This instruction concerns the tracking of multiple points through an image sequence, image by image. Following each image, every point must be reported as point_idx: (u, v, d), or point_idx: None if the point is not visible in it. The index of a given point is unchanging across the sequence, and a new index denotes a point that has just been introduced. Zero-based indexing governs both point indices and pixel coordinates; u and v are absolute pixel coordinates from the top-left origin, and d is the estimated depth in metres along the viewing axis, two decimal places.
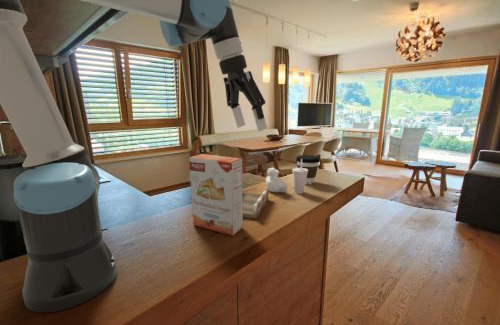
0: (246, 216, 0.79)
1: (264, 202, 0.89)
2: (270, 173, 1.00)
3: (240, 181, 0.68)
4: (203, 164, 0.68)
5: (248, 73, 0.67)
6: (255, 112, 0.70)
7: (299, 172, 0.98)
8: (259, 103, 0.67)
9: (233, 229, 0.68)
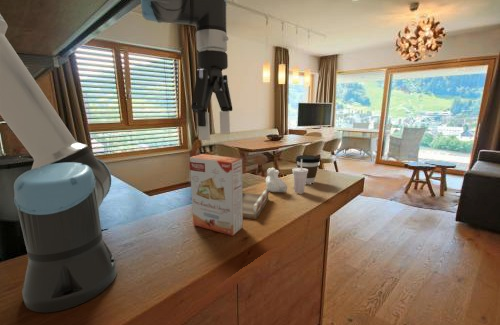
0: (246, 216, 0.79)
1: (264, 202, 0.89)
2: (270, 173, 1.00)
3: (240, 181, 0.68)
4: (203, 164, 0.68)
5: (202, 71, 0.58)
6: None
7: (299, 172, 0.98)
8: (193, 106, 0.57)
9: (233, 229, 0.68)
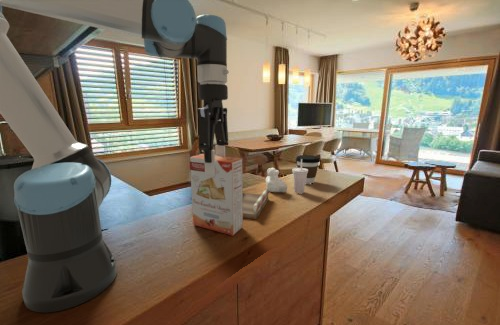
0: (246, 216, 0.79)
1: (264, 202, 0.89)
2: (270, 173, 1.00)
3: (240, 181, 0.69)
4: (203, 164, 0.68)
5: (203, 111, 0.60)
6: None
7: (299, 172, 0.98)
8: (200, 146, 0.62)
9: (233, 229, 0.68)
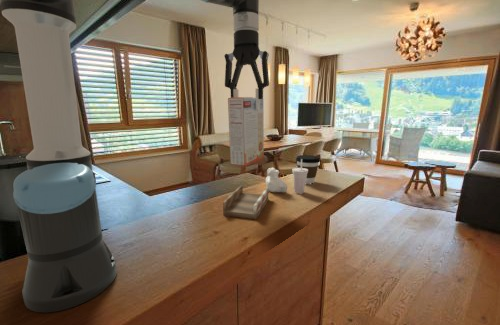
0: (246, 216, 0.79)
1: (264, 202, 0.89)
2: (270, 173, 1.00)
3: (240, 119, 0.74)
4: None
5: None
6: None
7: (299, 172, 0.98)
8: None
9: (231, 159, 0.79)
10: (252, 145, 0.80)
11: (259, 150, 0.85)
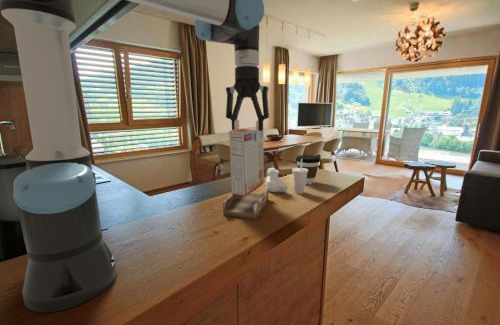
0: (246, 216, 0.79)
1: (264, 202, 0.89)
2: (270, 173, 1.00)
3: (241, 151, 0.77)
4: None
5: None
6: None
7: (299, 172, 0.98)
8: None
9: (232, 188, 0.82)
10: (252, 174, 0.82)
11: (259, 177, 0.88)
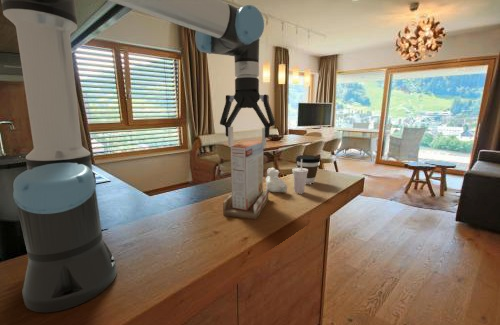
0: (246, 216, 0.79)
1: (264, 202, 0.89)
2: (270, 173, 1.00)
3: (242, 167, 0.78)
4: None
5: None
6: None
7: (299, 172, 0.98)
8: None
9: (232, 202, 0.82)
10: (252, 188, 0.83)
11: (259, 191, 0.89)
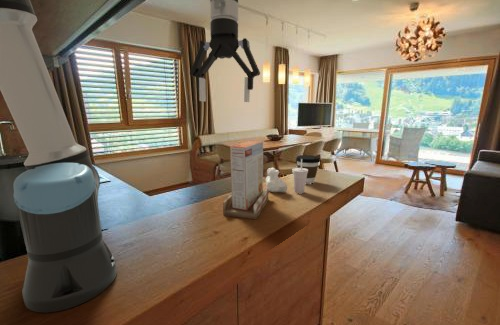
0: (246, 216, 0.79)
1: (264, 202, 0.89)
2: (270, 173, 1.00)
3: (242, 167, 0.78)
4: None
5: None
6: None
7: (299, 172, 0.98)
8: None
9: (232, 203, 0.82)
10: (252, 188, 0.83)
11: (259, 191, 0.89)
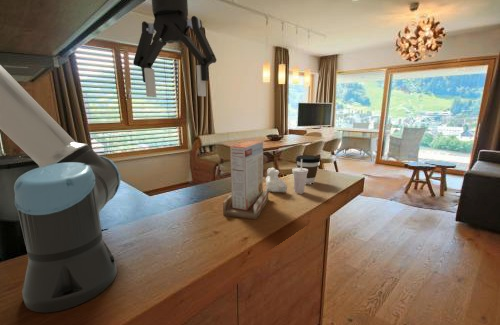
0: (246, 216, 0.79)
1: (264, 202, 0.89)
2: (270, 173, 1.00)
3: (242, 167, 0.78)
4: None
5: None
6: None
7: (299, 172, 0.98)
8: None
9: (232, 203, 0.82)
10: (252, 188, 0.83)
11: (259, 191, 0.89)
